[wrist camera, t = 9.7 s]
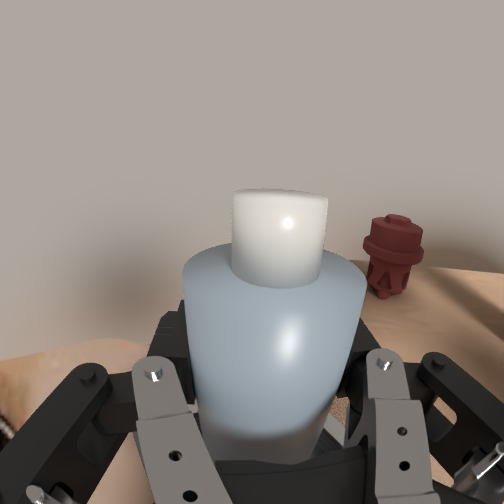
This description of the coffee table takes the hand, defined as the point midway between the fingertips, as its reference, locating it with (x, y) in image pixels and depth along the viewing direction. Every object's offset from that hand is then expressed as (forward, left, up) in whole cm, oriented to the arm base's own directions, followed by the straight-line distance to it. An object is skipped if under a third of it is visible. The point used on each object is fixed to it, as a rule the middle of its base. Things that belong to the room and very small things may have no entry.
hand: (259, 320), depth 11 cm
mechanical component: (-32, -13, -13) cm, 37 cm away
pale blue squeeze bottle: (+1, +2, -6) cm, 7 cm away
